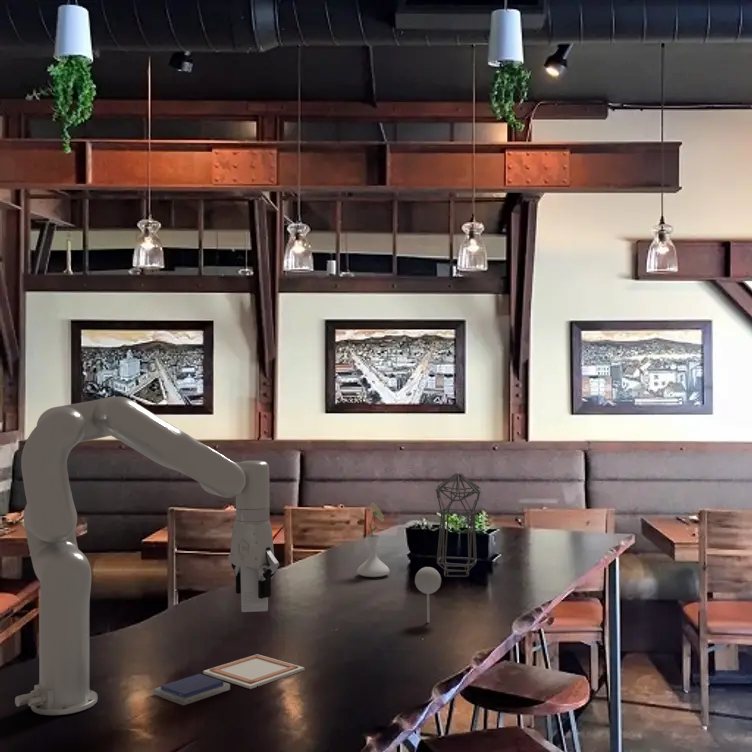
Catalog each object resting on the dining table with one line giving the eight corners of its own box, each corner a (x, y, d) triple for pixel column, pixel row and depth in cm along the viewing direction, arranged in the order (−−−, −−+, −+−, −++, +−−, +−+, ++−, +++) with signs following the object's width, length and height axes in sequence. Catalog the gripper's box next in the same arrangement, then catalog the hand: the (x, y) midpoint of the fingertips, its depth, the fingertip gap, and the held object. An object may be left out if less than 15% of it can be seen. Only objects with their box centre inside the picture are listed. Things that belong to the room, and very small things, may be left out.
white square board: (250, 689, 181) (250, 684, 181) (203, 673, 191) (203, 669, 191) (304, 670, 193) (304, 666, 193) (257, 656, 203) (257, 652, 203)
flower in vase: (389, 579, 288) (389, 505, 289) (356, 579, 288) (355, 505, 289) (389, 571, 301) (389, 500, 302) (357, 571, 301) (356, 500, 302)
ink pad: (183, 705, 172) (183, 696, 172) (154, 694, 178) (153, 685, 178) (230, 689, 181) (230, 681, 181) (200, 679, 187) (200, 671, 187)
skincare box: (267, 607, 195) (267, 553, 196) (268, 612, 191) (268, 557, 191) (240, 608, 195) (240, 554, 195) (240, 613, 190) (240, 558, 190)
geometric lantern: (435, 569, 304) (437, 471, 305) (480, 571, 302) (481, 472, 303) (432, 578, 289) (434, 474, 290) (479, 580, 286) (480, 475, 288)
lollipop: (446, 622, 233) (446, 566, 233) (430, 627, 228) (429, 570, 228) (426, 617, 238) (426, 563, 238) (409, 622, 233) (409, 567, 233)
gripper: (215, 514, 196) (215, 592, 195) (266, 520, 185) (266, 604, 184) (240, 510, 202) (240, 586, 201) (291, 517, 190) (292, 597, 190)
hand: (253, 594), depth 193 cm, fingers closed on skincare box, 6 cm apart
